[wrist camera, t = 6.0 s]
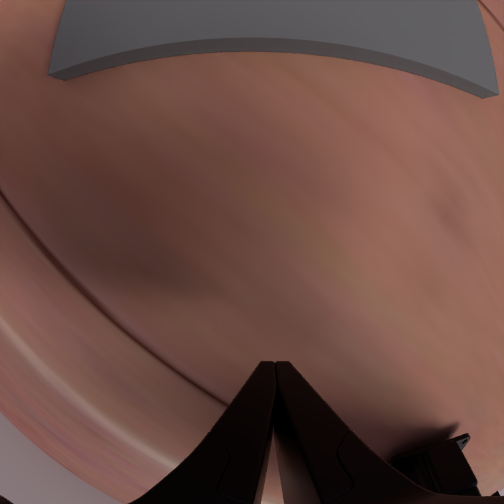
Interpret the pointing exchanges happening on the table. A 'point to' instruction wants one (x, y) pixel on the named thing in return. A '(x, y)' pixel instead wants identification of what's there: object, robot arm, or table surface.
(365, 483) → the robot arm
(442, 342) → the table surface
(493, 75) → the mat
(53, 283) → the table surface
